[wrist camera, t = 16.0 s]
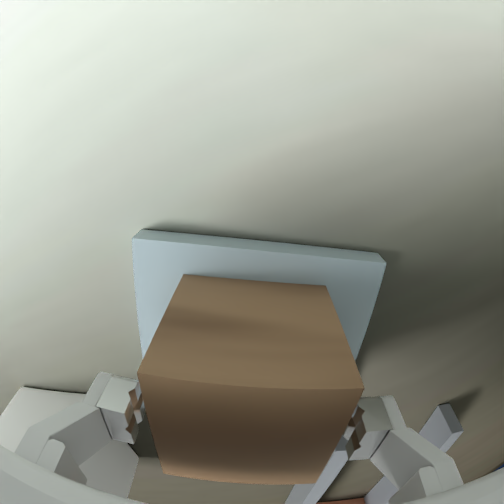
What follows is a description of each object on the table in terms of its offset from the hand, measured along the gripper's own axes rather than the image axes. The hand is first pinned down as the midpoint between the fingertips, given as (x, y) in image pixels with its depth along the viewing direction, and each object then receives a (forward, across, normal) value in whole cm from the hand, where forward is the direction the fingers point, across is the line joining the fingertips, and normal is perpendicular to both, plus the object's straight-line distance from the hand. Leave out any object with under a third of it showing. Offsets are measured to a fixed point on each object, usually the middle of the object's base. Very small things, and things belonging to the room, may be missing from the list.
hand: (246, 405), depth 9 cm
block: (+3, 0, -1) cm, 3 cm away
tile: (+4, 0, 0) cm, 4 cm away
